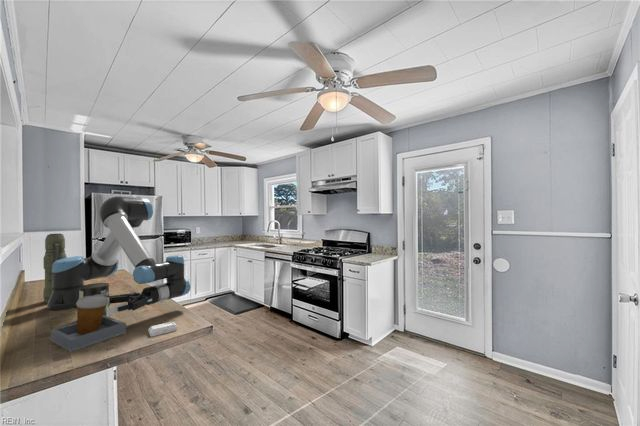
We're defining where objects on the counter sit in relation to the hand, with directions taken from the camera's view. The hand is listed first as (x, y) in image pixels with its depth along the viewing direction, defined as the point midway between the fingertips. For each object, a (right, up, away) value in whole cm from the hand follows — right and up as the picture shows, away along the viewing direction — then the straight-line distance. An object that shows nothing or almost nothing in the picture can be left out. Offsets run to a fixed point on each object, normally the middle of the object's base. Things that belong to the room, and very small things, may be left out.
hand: (97, 308), depth 105 cm
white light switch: (+23, -10, +2) cm, 25 cm away
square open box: (-1, -10, -2) cm, 10 cm away
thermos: (-56, -10, +42) cm, 71 cm away
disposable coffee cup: (-4, -8, 0) cm, 9 cm away
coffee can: (-15, -10, +17) cm, 25 cm away
